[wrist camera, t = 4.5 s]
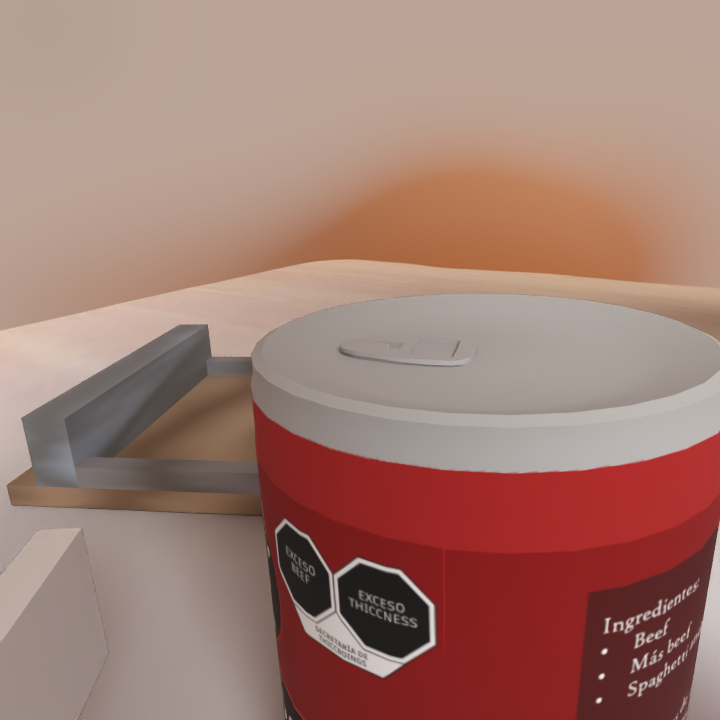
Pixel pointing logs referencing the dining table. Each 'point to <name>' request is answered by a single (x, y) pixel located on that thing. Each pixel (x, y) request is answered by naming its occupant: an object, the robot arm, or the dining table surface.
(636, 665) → the canned food
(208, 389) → the slide board
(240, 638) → the dining table surface
